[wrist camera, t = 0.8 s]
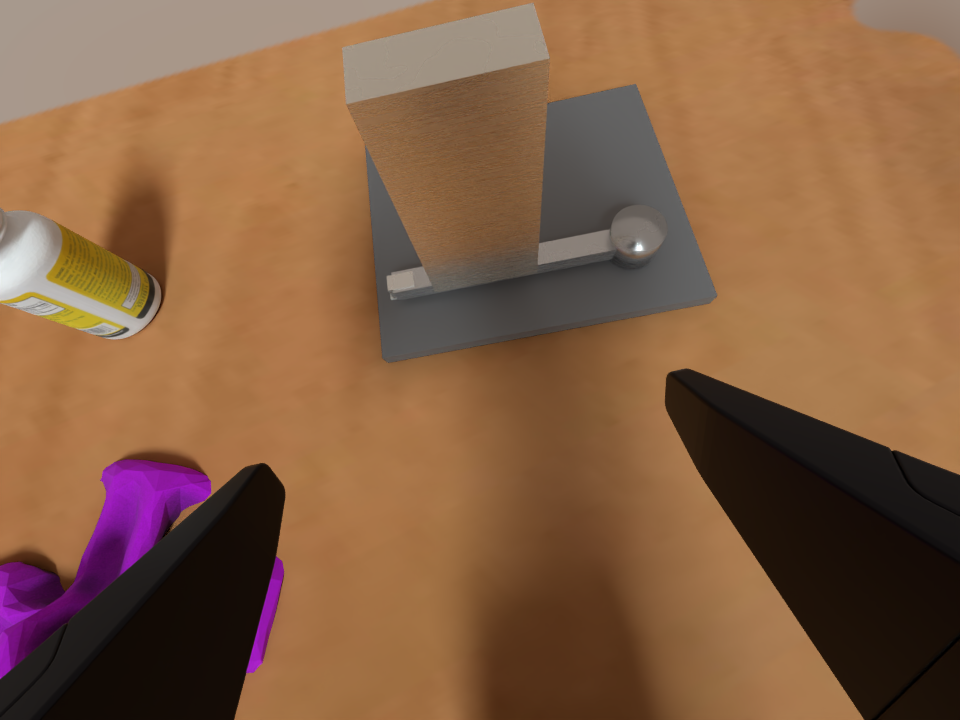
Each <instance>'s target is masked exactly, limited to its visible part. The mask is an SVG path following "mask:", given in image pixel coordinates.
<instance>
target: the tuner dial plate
mask: <svg viewBox="0 0 960 720" xmlns="http://www.w3.org/2000/svg"><path fill="white" fill-rule="evenodd" d="M365 150H366V162H367V174H368V187H369V199H370V211H371V224H372V236H373V248H374V260H375V273H376V285H377V297H378V310H379V322H380V334H381V347H382V358H383V359H384V360H385V361H386V362H388V363H389V362H395V361H400V360H406V359H411V358H416V357H422V356H427V355H433V354H438V353H444V352H449V351H454V350H460V349H465V348H471V347H476V346H481V345H487V344H492V343H498V342H503V341H508V340H514V339H519V338H525V337H530V336H535V335H541V334H546V333H552V332H557V331H563V330H568V329H573V328H579V327H584V326H590V325H595V324H600V323H606V322H611V321H617V320H622V319H627V318H633V317H638V316H644V315H649V314H654V313H660V312H665V311H671V310H676V309H681V308H687V307H692V306H698V305H703V304H709V303H710V302H712V301H713V300H714V299H715V298H716V297H717V293H716V291H715V288H714V286H713V283H712V280H711V278H710V275H709V273H708V270H707V267H706V265H705V262H704V260H703V257H702V254H701V252H700V249H699V247H698V244H697V241H696V239H695V236H694V234H693V231H692V228H691V226H690V223H689V221H688V218H687V215H686V213H685V210H684V208H683V205H682V202H681V200H680V197H679V195H678V192H677V189H676V187H675V184H674V182H673V179H672V176H671V174H670V171H669V169H668V166H667V164H666V161H665V158H664V156H663V153H662V151H661V148H660V145H659V143H658V140H657V138H656V135H655V132H654V130H653V127H652V125H651V122H650V119H649V117H648V114H647V112H646V109H645V106H644V104H643V101H642V99H641V96H640V93H639V91H638V88H637V86H636V84H634V85H629V86H625V87H620V88H615V89H611V90H606V91H602V92H597V93H593V94H588V95H583V96H579V97H574V98H570V99H565V100H561V101H556V102H551V103H547V116H546V133H545V150H544V166H543V183H542V200H541V217H540V234H539V243H543V242H548V241H553V240H558V239H563V238H568V237H573V236H578V235H583V234H588V233H593V232H599V231H604V230H609V229H610V228H611V225H612V222H613V219H614V217H615V216H616V214H617V213H618V212H619V211H621V210H622V209H624V208H626V207H628V206H632V205H646V206H650V207H652V208H654V209H656V210H657V211H659V212H660V213H661V214H662V215H663V216H664V218H665V219H666V222H667V225H668V232H667V235H666V238H665V239H664V241H663V243H662V245H661V246H660V248H659V250H658V251H657V253H656V255H655V257H654V258H653V260H652V261H651V262H650V263H649V264H648V265H646V266H644V267H642V268H639V269H624V268H621V267H618V266H617V265H615V264H614V263H612V262H611V261H610V260H605V261H600V262H595V263H590V264H585V265H579V266H574V267H569V268H564V269H559V270H554V271H548V272H543V273H538V274H533V275H528V276H523V277H518V278H512V279H507V280H502V281H497V282H492V283H487V284H481V285H476V286H471V287H466V288H461V289H456V290H451V291H445V292H440V293H435V294H430V295H425V296H420V297H414V298H409V299H404V300H399V301H398V299H397V298H396V299H393V297H392V296H391V294H390V293H389V292H388V287H387V276H389V275H392V274H391V273H392V272H397V271H402V270H407V269H412V268H417V267H422V266H423V265H422V263H421V261H420V259H419V257H418V255H417V253H416V251H415V248H414V246H413V244H412V242H411V240H410V238H409V236H408V234H407V232H406V229H405V227H404V225H403V223H402V221H401V219H400V217H399V215H398V213H397V210H396V208H395V206H394V204H393V202H392V200H391V198H390V196H389V194H388V192H387V189H386V187H385V185H384V183H383V181H382V179H381V177H380V175H379V173H378V170H377V168H376V166H375V164H374V162H373V160H372V158H371V156H370V154H369V151H368V149H367V147H366V145H365Z"/></svg>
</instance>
